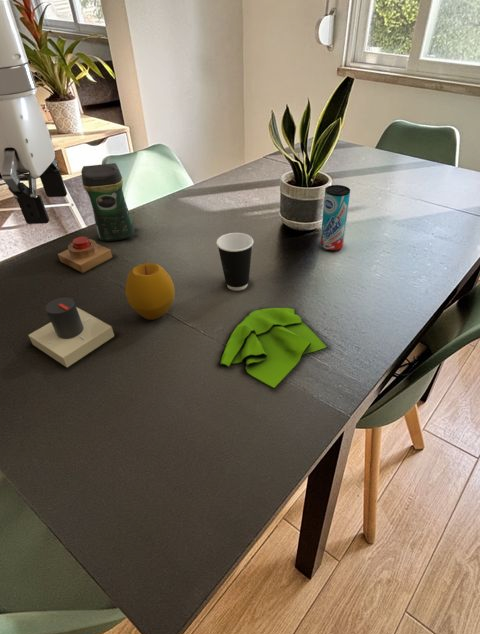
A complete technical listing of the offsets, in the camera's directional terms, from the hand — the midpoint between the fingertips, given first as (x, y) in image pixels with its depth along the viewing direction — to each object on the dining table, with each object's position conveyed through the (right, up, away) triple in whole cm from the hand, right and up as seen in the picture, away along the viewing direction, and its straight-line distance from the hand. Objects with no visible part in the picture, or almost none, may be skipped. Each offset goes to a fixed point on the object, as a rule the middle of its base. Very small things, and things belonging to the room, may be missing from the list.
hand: (48, 208), depth 66 cm
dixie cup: (+27, -7, +32) cm, 43 cm away
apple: (+11, -15, +23) cm, 30 cm away
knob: (-4, -18, +16) cm, 24 cm away
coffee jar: (-7, +9, +50) cm, 51 cm away
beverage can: (+51, +5, +45) cm, 68 cm away
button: (-11, +3, +38) cm, 40 cm away
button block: (-11, +1, +40) cm, 42 cm away
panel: (-4, -20, +17) cm, 27 cm away
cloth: (+34, -21, +16) cm, 44 cm away
